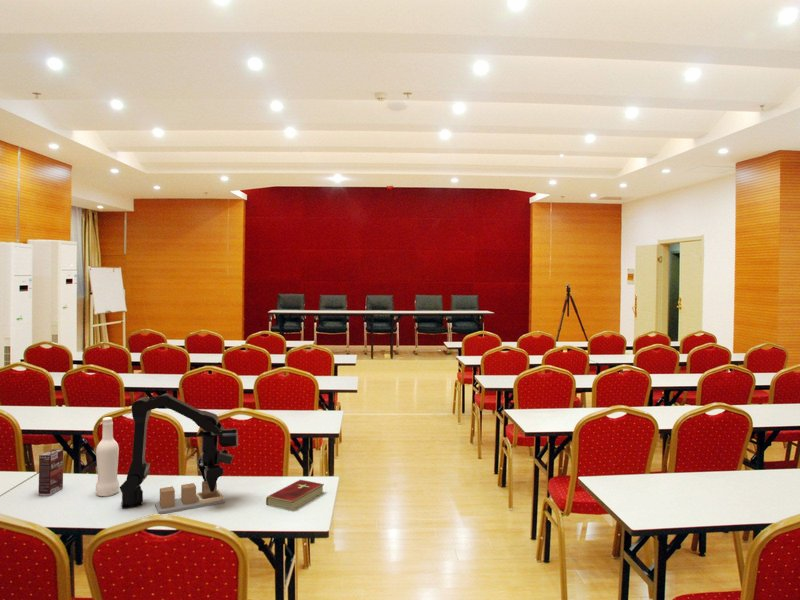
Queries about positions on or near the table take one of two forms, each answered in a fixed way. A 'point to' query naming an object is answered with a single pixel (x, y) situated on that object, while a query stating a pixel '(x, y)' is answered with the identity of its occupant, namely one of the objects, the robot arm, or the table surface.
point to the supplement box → (50, 472)
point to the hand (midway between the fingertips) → (209, 487)
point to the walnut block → (208, 491)
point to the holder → (184, 499)
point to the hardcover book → (294, 495)
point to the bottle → (107, 461)
